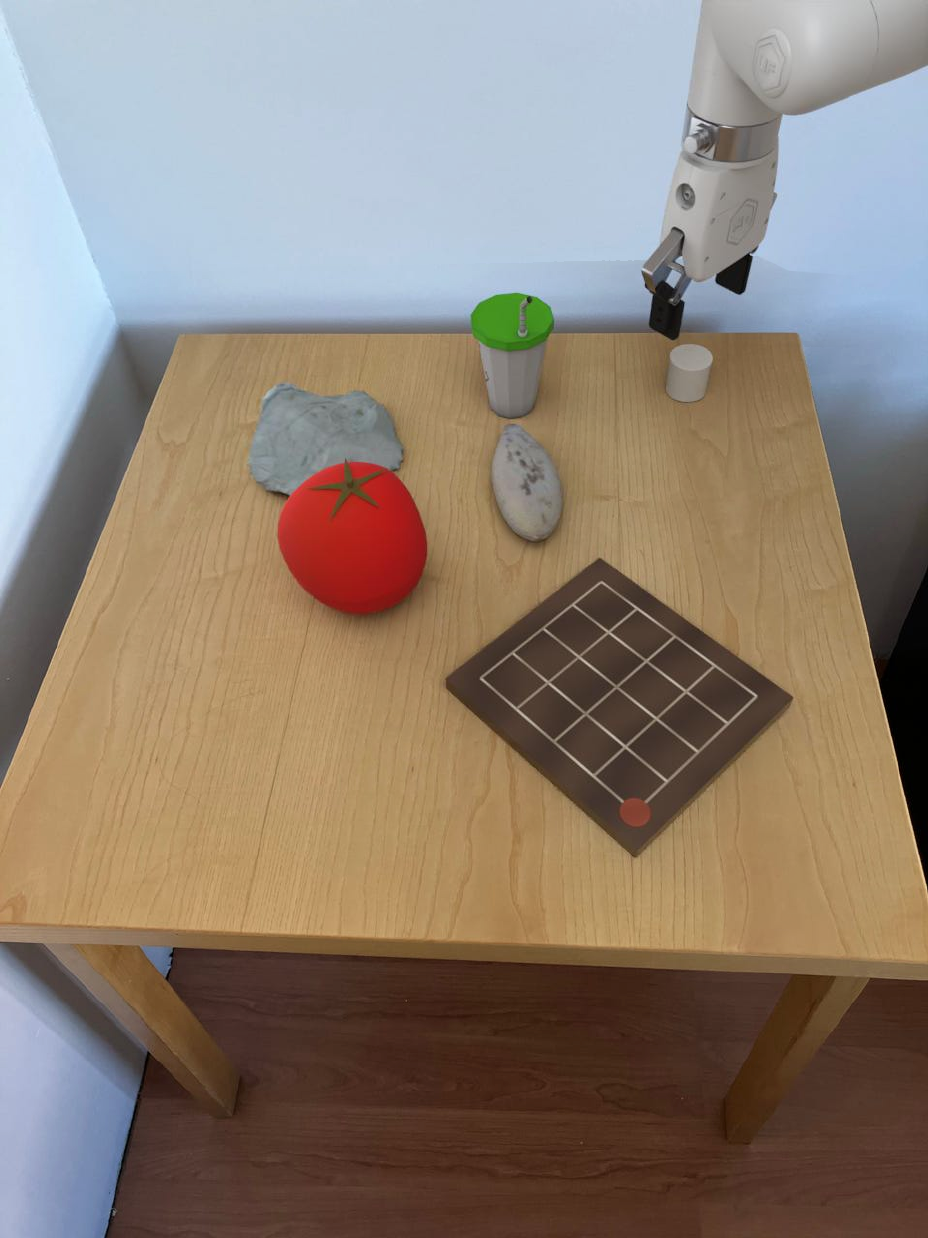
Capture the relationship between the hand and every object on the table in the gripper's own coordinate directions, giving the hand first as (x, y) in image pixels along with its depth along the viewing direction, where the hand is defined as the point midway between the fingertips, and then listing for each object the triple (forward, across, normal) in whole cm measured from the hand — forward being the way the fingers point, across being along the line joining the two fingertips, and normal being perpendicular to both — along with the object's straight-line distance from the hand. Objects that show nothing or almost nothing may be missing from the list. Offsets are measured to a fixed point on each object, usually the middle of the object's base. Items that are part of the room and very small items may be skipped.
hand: (697, 309), depth 91 cm
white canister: (+9, 0, 0) cm, 9 cm away
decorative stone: (+9, -22, +1) cm, 24 cm away
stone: (+10, -32, +19) cm, 38 cm away
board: (+9, -33, -20) cm, 40 cm away
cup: (+10, -14, +11) cm, 20 cm away
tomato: (+9, -40, +3) cm, 41 cm away
